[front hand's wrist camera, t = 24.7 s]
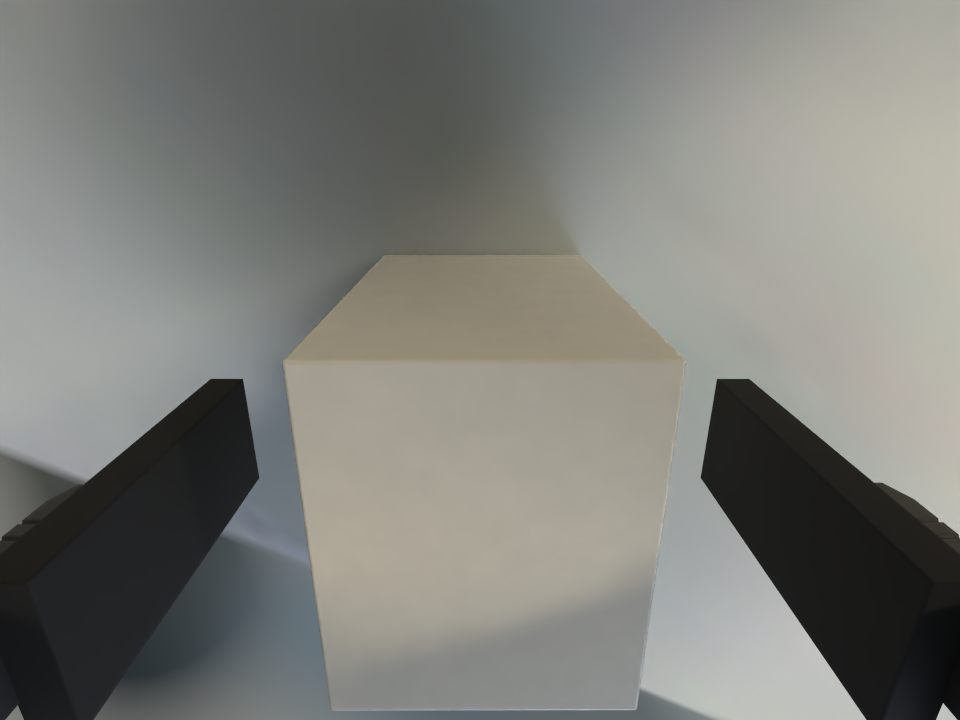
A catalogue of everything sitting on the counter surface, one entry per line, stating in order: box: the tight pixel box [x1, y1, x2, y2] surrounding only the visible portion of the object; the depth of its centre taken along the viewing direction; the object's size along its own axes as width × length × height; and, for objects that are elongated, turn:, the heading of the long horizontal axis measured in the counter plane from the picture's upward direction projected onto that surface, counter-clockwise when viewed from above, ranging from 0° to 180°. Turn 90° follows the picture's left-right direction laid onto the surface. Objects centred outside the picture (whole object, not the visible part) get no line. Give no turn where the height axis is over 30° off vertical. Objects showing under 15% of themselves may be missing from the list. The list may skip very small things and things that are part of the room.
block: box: [282, 255, 686, 710], centre depth 13 cm, size 7×6×9 cm
